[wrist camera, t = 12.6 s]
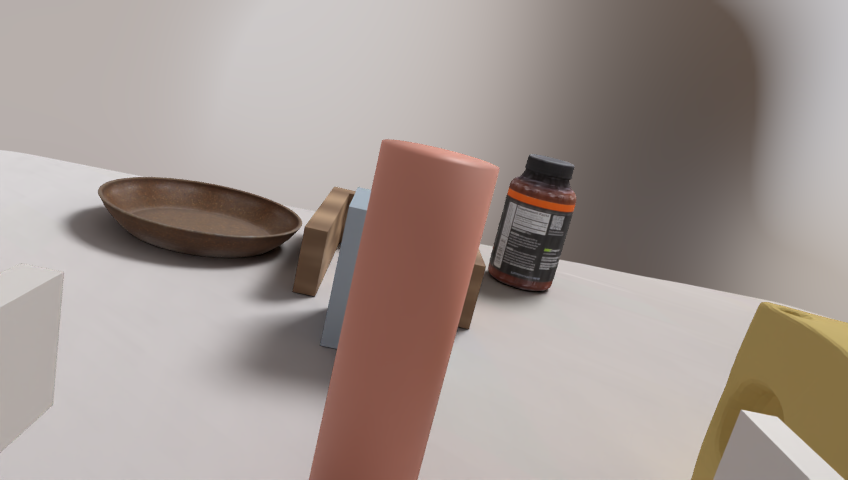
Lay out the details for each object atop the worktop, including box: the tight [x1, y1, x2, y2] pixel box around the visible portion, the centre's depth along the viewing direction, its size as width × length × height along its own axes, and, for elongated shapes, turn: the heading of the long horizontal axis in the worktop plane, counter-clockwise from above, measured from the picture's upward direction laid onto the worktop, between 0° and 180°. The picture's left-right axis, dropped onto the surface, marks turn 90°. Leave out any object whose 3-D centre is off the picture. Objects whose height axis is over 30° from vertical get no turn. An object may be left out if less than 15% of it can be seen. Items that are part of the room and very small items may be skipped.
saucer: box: [98, 177, 302, 258], centre depth 48 cm, size 15×15×3 cm
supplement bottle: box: [488, 154, 576, 291], centre depth 54 cm, size 6×6×11 cm
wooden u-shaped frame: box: [292, 187, 486, 329], centre depth 48 cm, size 16×12×4 cm
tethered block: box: [309, 139, 499, 480], centre depth 28 cm, size 21×6×13 cm, turn 2°
